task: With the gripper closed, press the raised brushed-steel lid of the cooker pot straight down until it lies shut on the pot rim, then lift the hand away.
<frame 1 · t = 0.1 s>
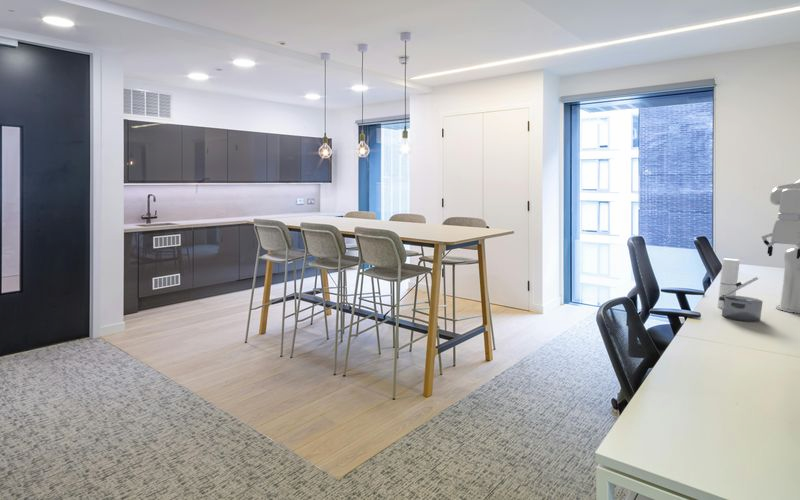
hand: (783, 257, 214), 31 cm above the table, tool pointing down, fingers open, 9 cm apart
lid: (739, 285, 231), point 15 cm above the table, hinge at 40.0°
pot: (740, 317, 232), on the table
cylindrical container: (725, 308, 252), on the table
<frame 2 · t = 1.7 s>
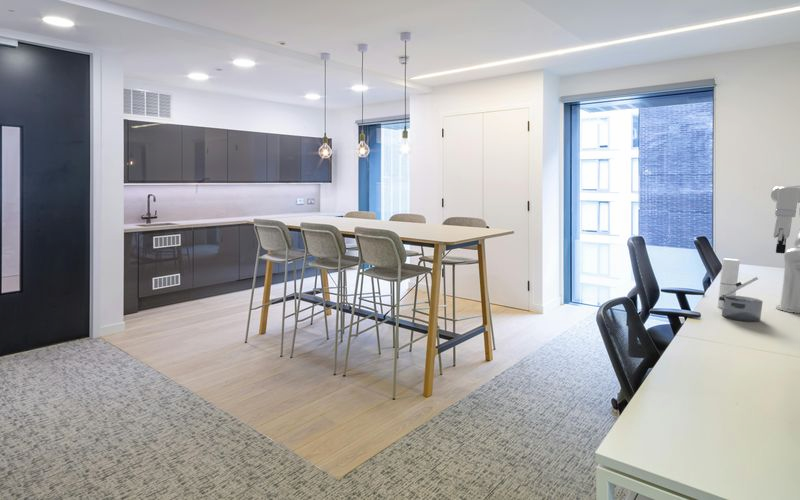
hand: (780, 252, 230), 31 cm above the table, tool pointing down, fingers closed
nothing on the table moved.
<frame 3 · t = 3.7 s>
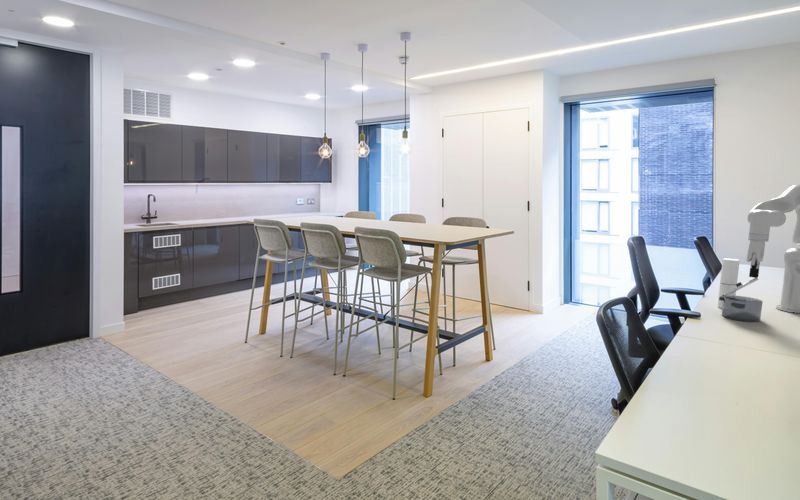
hand: (753, 277, 227), 20 cm above the table, tool pointing down, fingers closed
lid: (739, 285, 231), point 15 cm above the table, hinge at 39.2°, touching gripper
everything else where it was.
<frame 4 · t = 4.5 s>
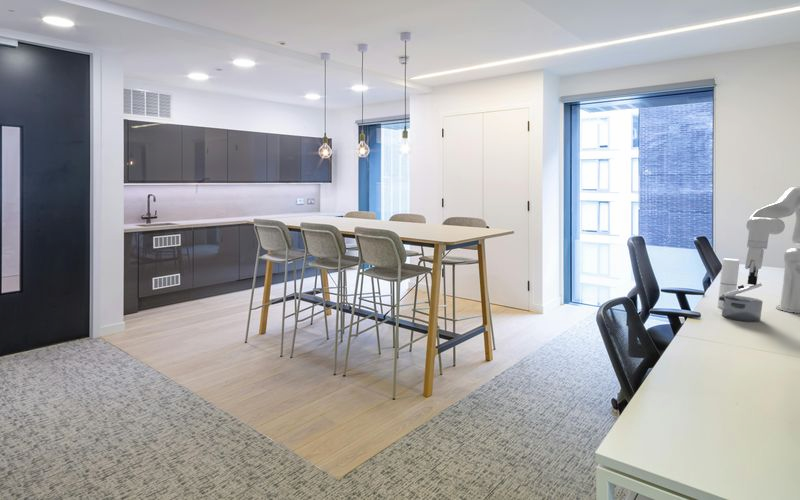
hand: (751, 284, 227), 17 cm above the table, tool pointing down, fingers closed
lid: (741, 288, 231), point 14 cm above the table, hinge at 28.2°, touching gripper
everything else where it was.
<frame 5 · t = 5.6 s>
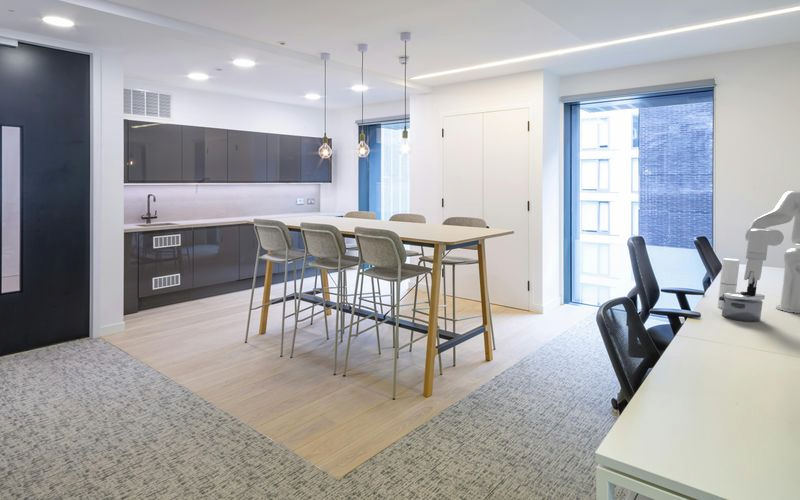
hand: (750, 295, 228), 11 cm above the table, tool pointing down, fingers closed
lid: (743, 294, 230), point 11 cm above the table, hinge at 5.6°, touching gripper
everything else where it was.
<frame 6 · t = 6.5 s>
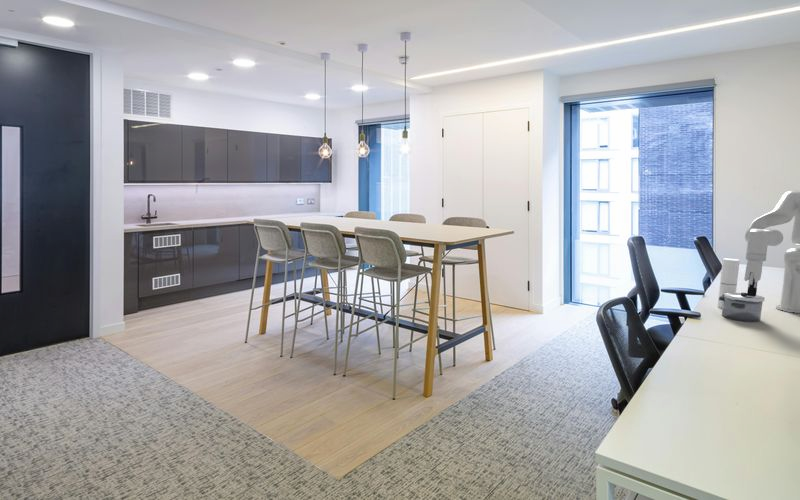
hand: (751, 295, 228), 11 cm above the table, tool pointing down, fingers closed
lid: (743, 295, 230), point 11 cm above the table, hinge at 2.2°
everything else where it was.
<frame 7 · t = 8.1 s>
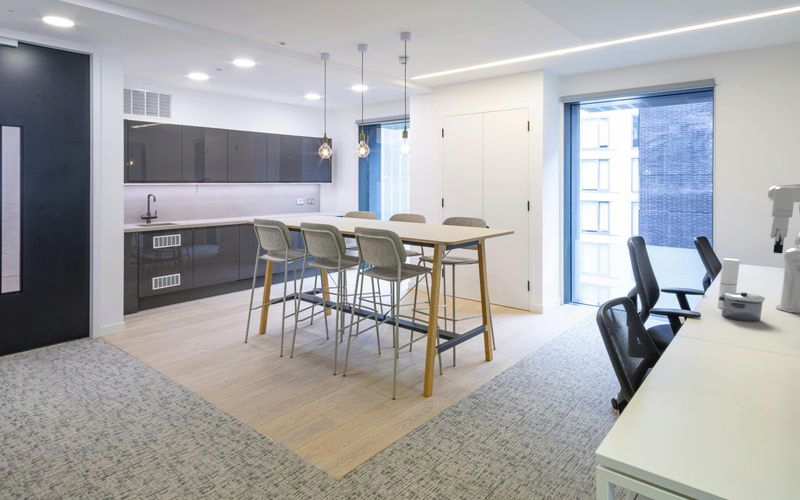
hand: (777, 252, 230), 31 cm above the table, tool pointing down, fingers closed
nothing on the table moved.
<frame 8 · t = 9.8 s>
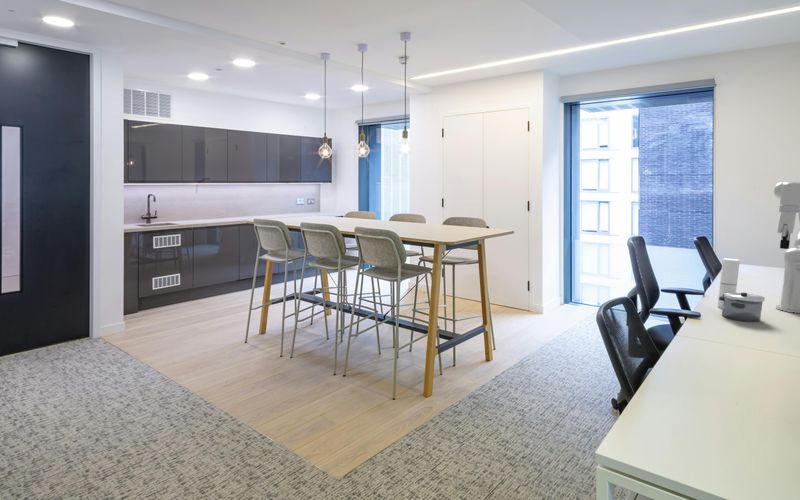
hand: (784, 248, 230), 33 cm above the table, tool pointing down, fingers closed
nothing on the table moved.
at the end: lid at +2° (first picture: +40°); lid touching nothing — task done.
